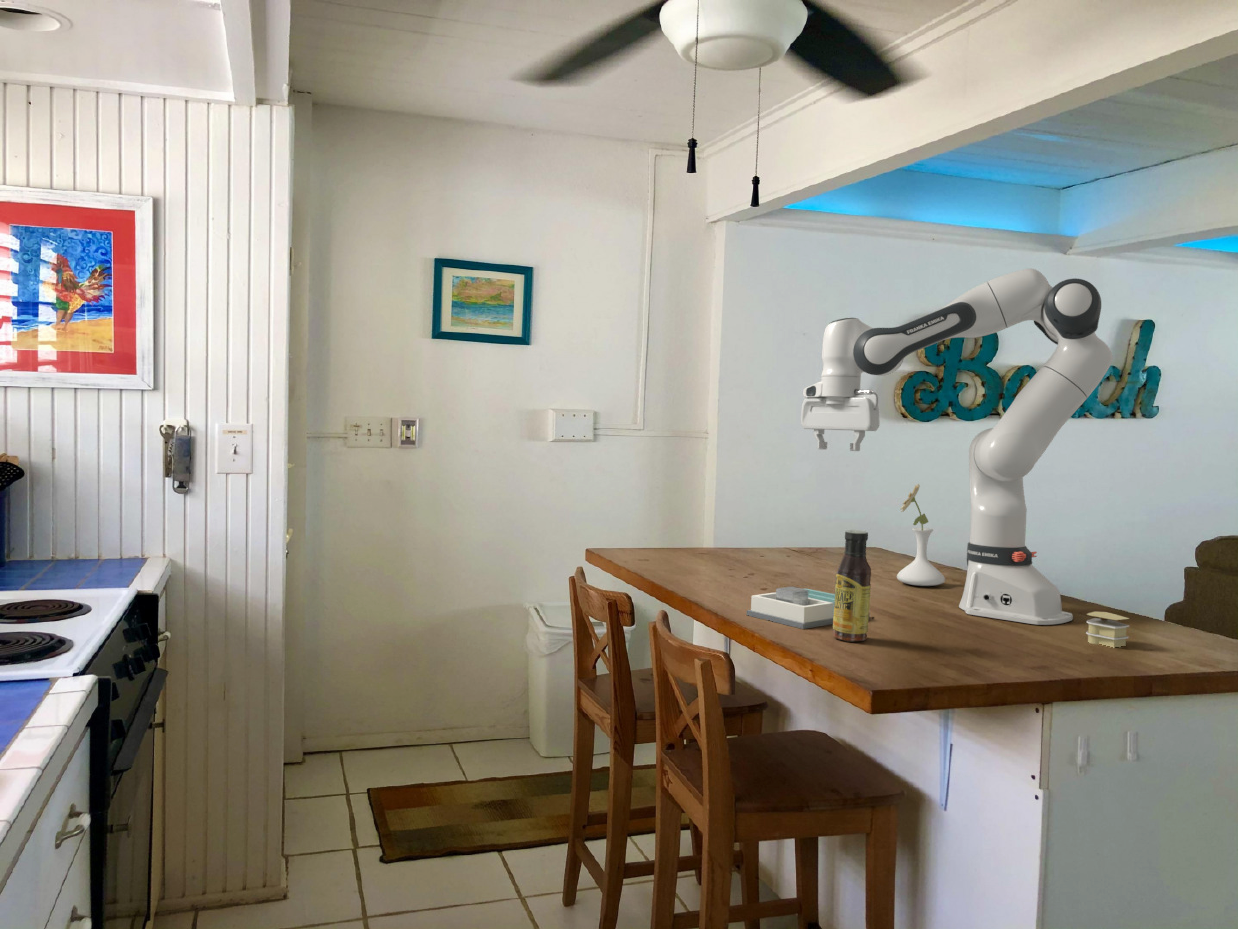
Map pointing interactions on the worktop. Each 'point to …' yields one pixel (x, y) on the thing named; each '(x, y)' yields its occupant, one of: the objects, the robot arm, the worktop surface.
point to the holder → (795, 610)
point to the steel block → (793, 595)
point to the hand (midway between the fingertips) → (838, 450)
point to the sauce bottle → (852, 590)
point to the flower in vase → (920, 553)
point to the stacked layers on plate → (1107, 630)
